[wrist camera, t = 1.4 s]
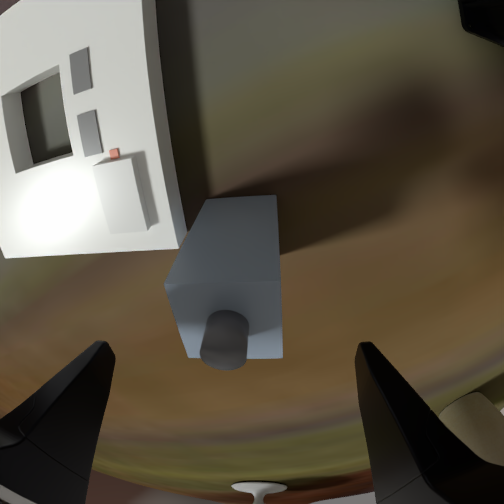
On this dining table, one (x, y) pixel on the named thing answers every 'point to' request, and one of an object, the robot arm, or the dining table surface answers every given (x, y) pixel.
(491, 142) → the dining table surface
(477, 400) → the plant pot
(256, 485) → the chalice
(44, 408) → the robot arm
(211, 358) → the grey block with peg
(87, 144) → the socket plate
